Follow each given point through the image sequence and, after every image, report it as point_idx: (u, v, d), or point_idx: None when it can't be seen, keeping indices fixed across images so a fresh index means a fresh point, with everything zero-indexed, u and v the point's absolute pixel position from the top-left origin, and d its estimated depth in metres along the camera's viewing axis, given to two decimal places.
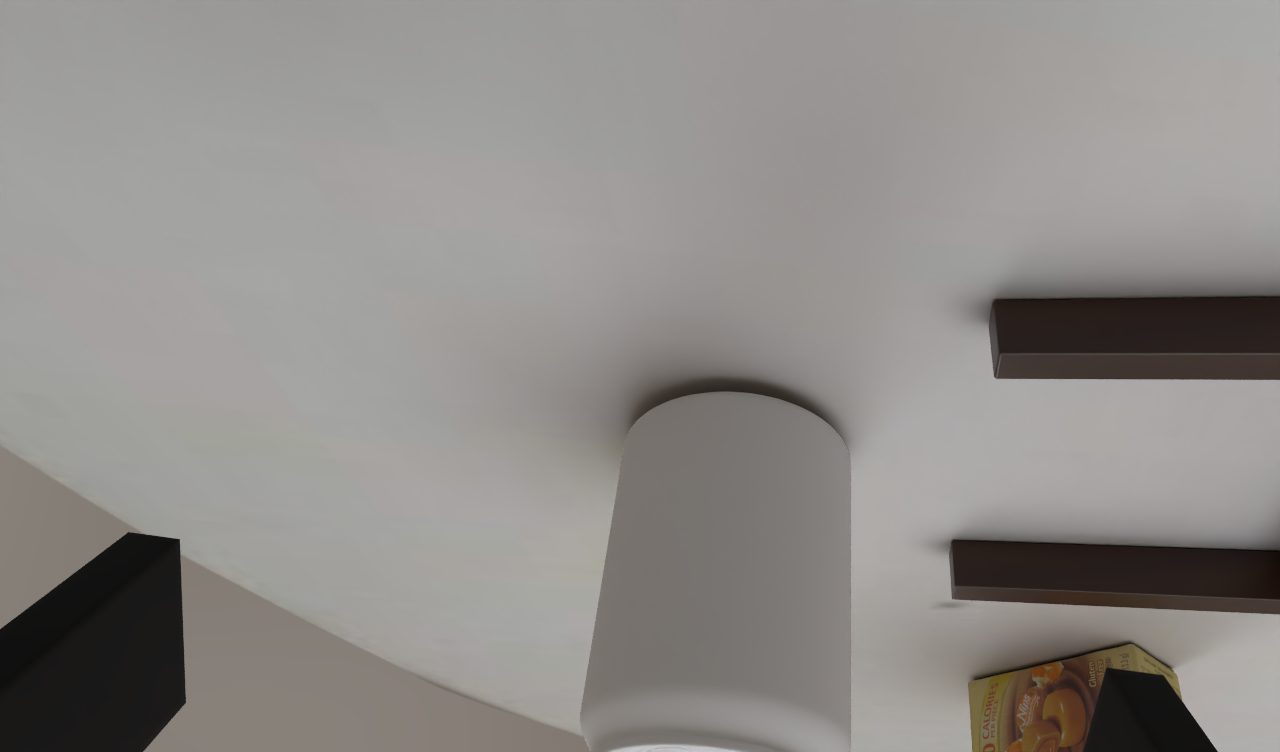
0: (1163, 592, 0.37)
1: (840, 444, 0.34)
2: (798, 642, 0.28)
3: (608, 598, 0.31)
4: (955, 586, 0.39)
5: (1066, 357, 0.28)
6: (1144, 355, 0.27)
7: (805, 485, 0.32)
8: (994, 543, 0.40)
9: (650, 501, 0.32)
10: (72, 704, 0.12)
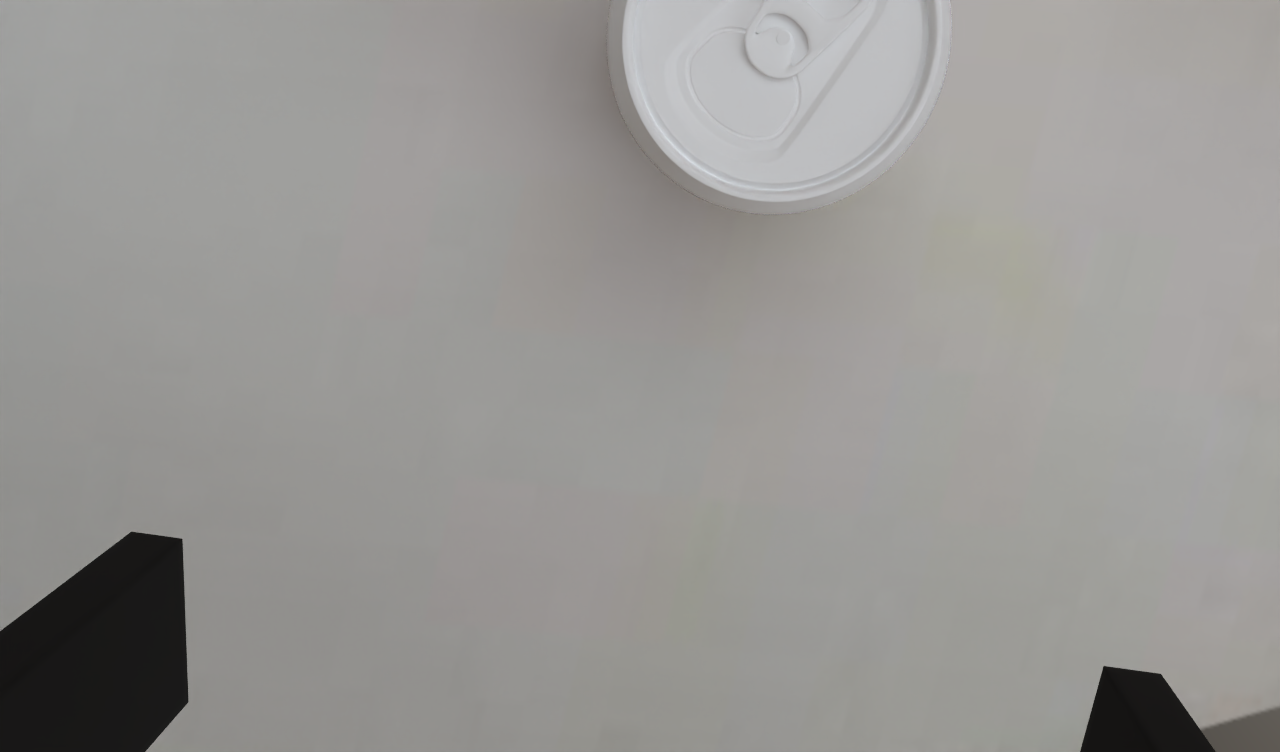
0: None
1: None
2: None
3: None
4: None
5: None
6: None
7: None
8: None
9: None
10: (75, 704, 0.12)
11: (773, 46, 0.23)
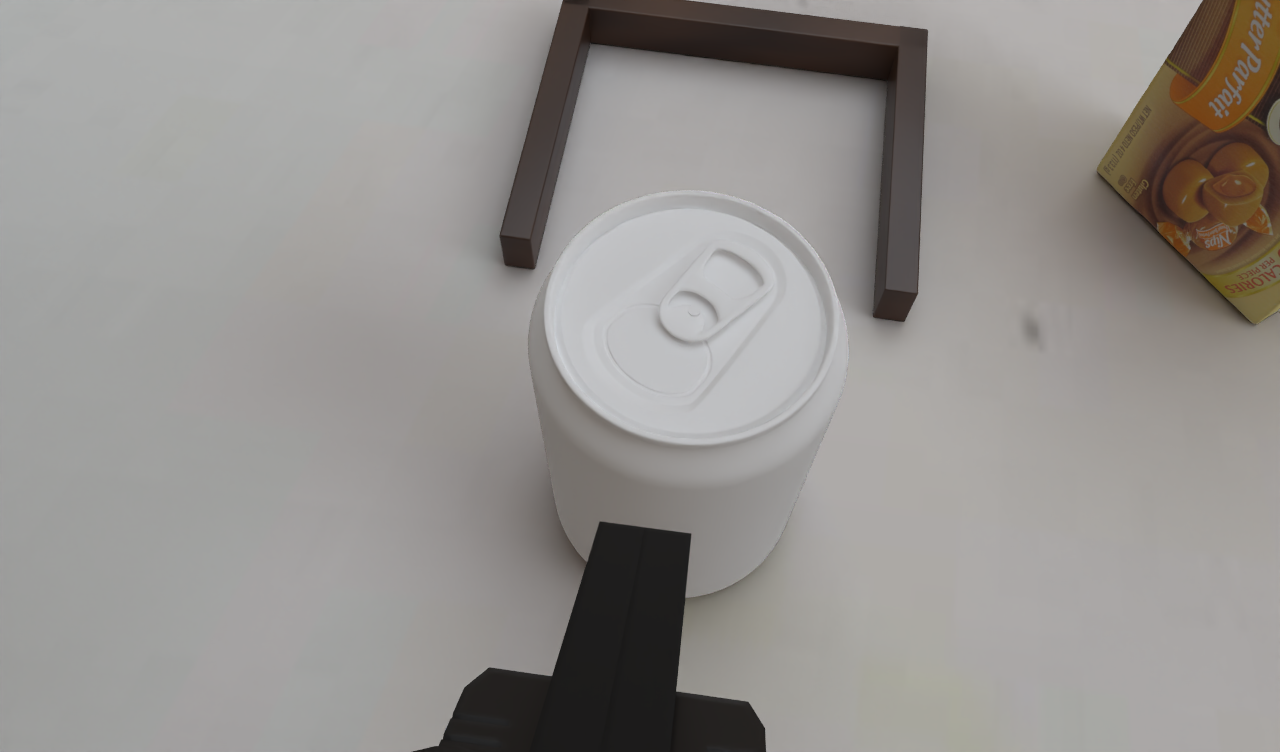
0: (892, 132, 0.40)
1: None
2: None
3: (577, 489, 0.27)
4: (886, 289, 0.36)
5: (513, 197, 0.38)
6: (524, 157, 0.39)
7: None
8: (875, 280, 0.39)
9: (553, 482, 0.30)
10: None
11: (685, 316, 0.24)
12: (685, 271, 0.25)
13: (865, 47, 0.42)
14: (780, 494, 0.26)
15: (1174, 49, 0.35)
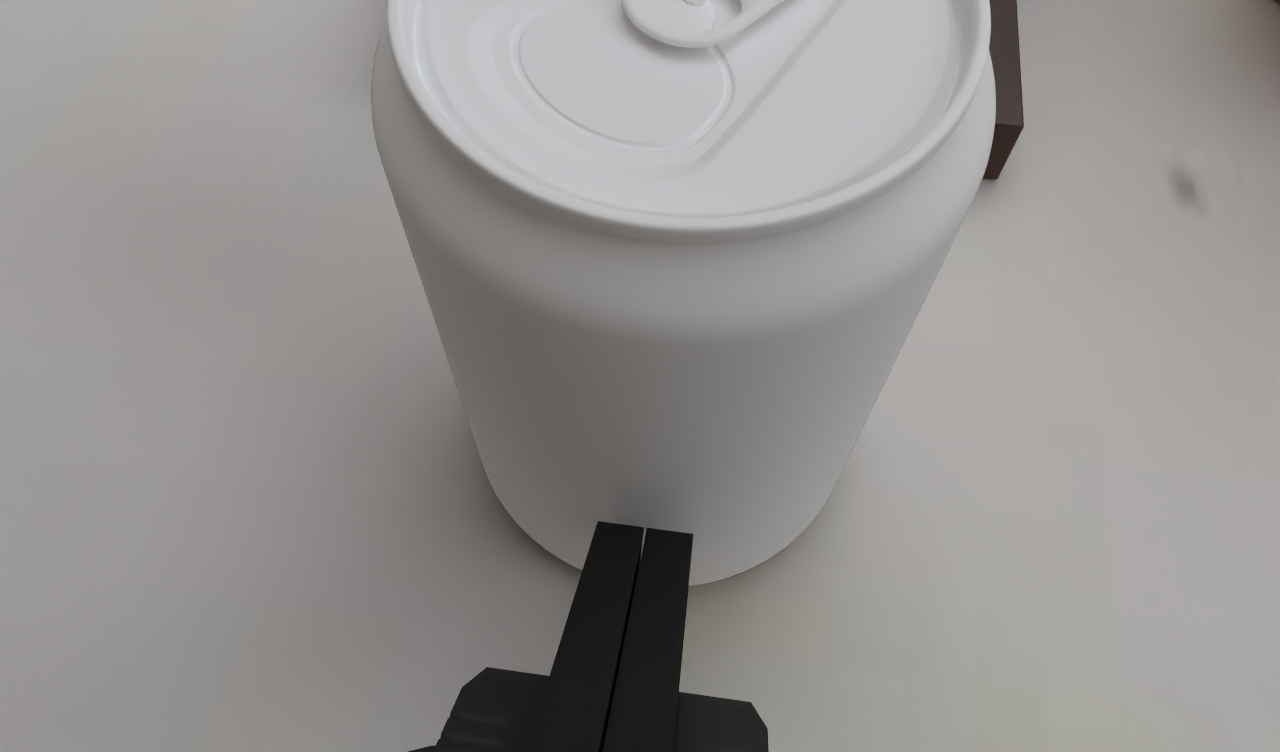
0: None
1: None
2: None
3: (486, 384, 0.15)
4: None
5: None
6: None
7: None
8: None
9: (460, 395, 0.18)
10: None
11: (676, 5, 0.12)
12: None
13: None
14: (864, 376, 0.14)
15: None
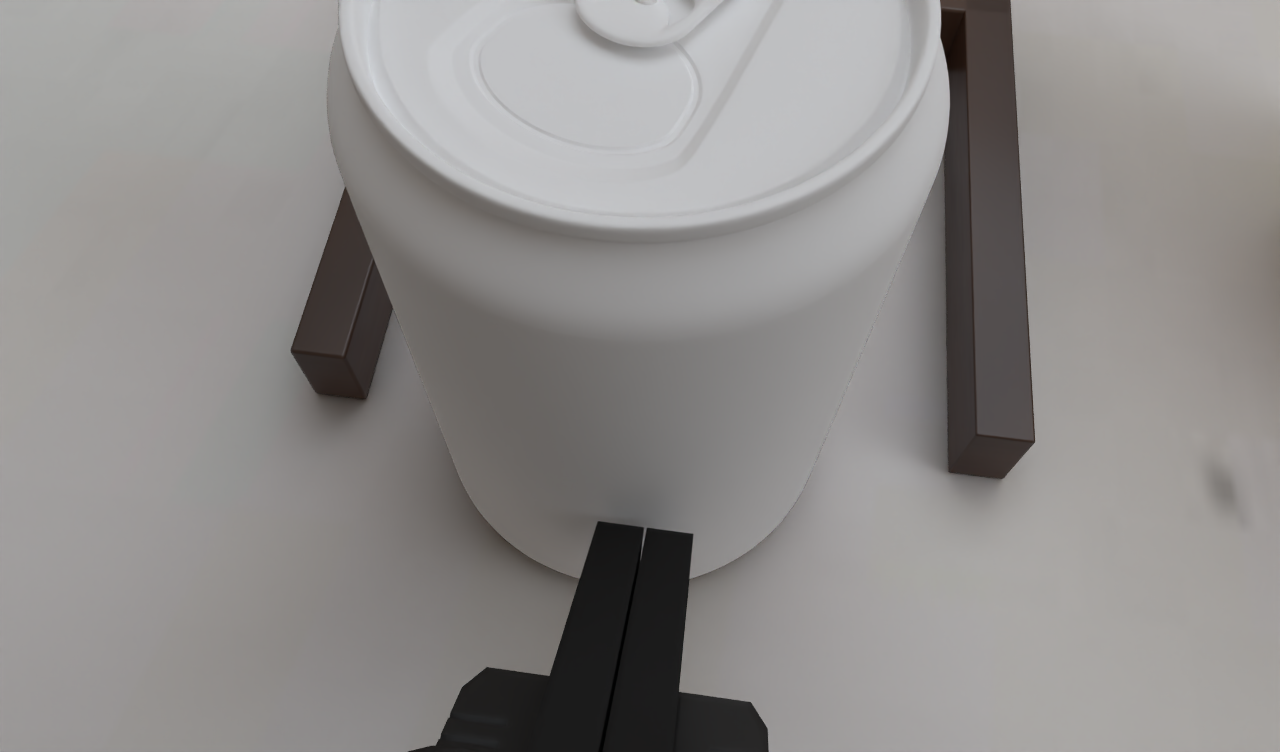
0: (966, 151, 0.24)
1: None
2: None
3: (479, 408, 0.14)
4: (979, 434, 0.20)
5: (319, 281, 0.22)
6: (344, 208, 0.23)
7: None
8: (948, 404, 0.23)
9: (442, 423, 0.17)
10: None
11: (630, 6, 0.12)
12: None
13: None
14: (851, 348, 0.14)
15: None
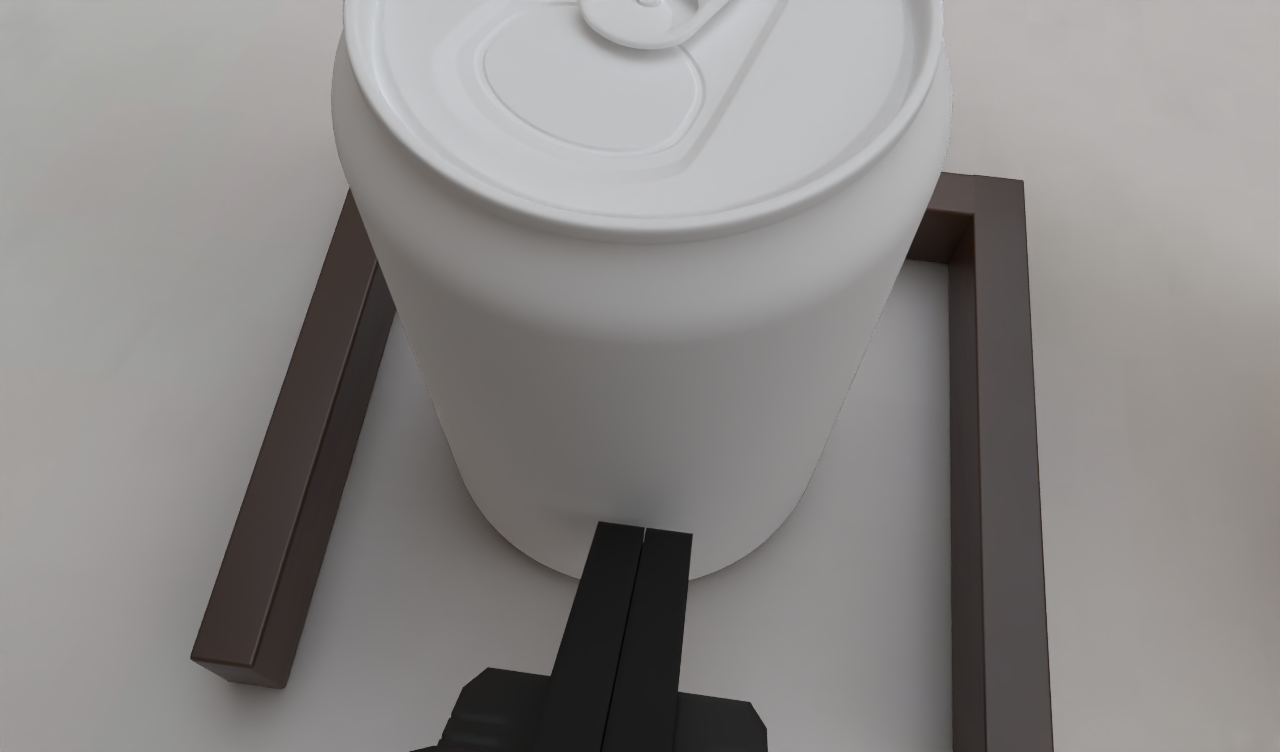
0: (975, 394, 0.21)
1: None
2: None
3: (483, 410, 0.14)
4: None
5: (227, 565, 0.19)
6: (260, 468, 0.20)
7: None
8: (953, 697, 0.20)
9: (444, 424, 0.18)
10: None
11: (633, 8, 0.12)
12: None
13: None
14: (854, 349, 0.14)
15: None
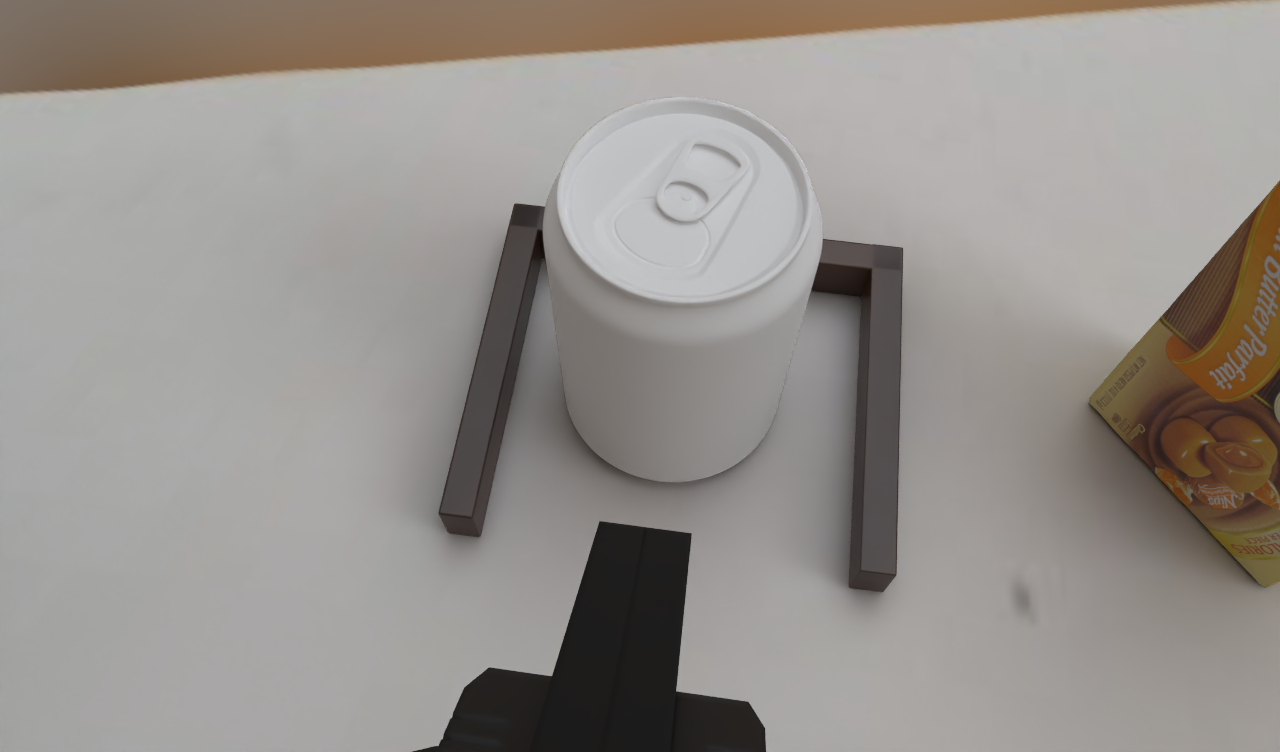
0: (866, 374, 0.37)
1: None
2: None
3: (604, 377, 0.30)
4: (862, 570, 0.33)
5: (454, 466, 0.35)
6: (466, 415, 0.36)
7: None
8: (851, 541, 0.36)
9: (574, 387, 0.33)
10: None
11: (680, 201, 0.28)
12: (672, 165, 0.29)
13: (836, 268, 0.39)
14: (781, 350, 0.30)
15: (1170, 310, 0.32)
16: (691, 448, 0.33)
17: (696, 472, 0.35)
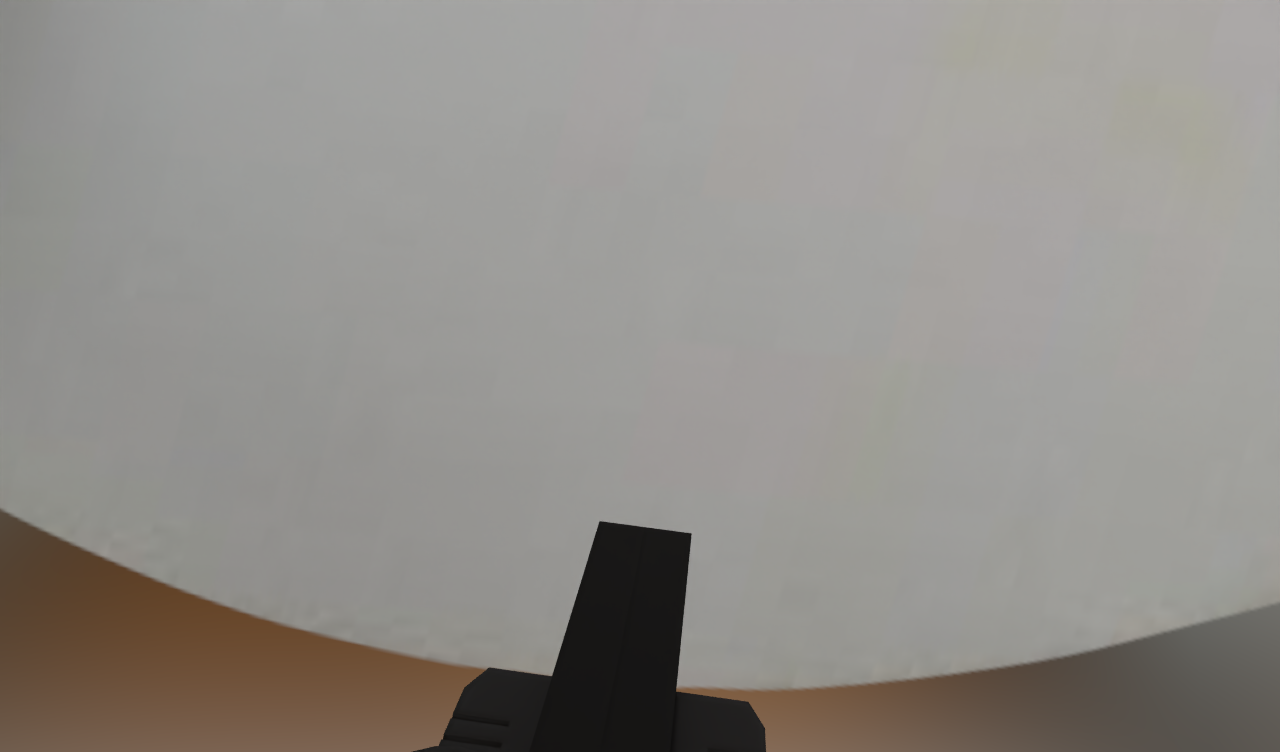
0: None
1: None
2: None
3: None
4: None
5: None
6: None
7: None
8: None
9: None
10: None
11: None
12: None
13: None
14: None
15: None
16: None
17: None
